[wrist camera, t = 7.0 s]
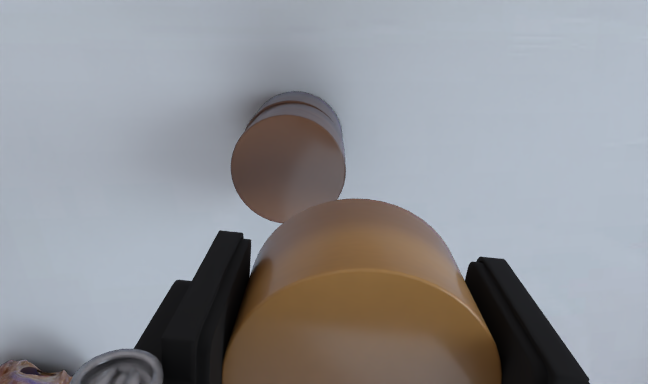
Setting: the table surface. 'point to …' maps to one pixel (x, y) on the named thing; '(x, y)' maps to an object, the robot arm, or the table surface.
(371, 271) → the copper brown cylinder
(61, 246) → the table surface
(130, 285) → the table surface
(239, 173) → the pile chip top
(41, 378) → the purple mottled rock
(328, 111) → the pile chip bottom
